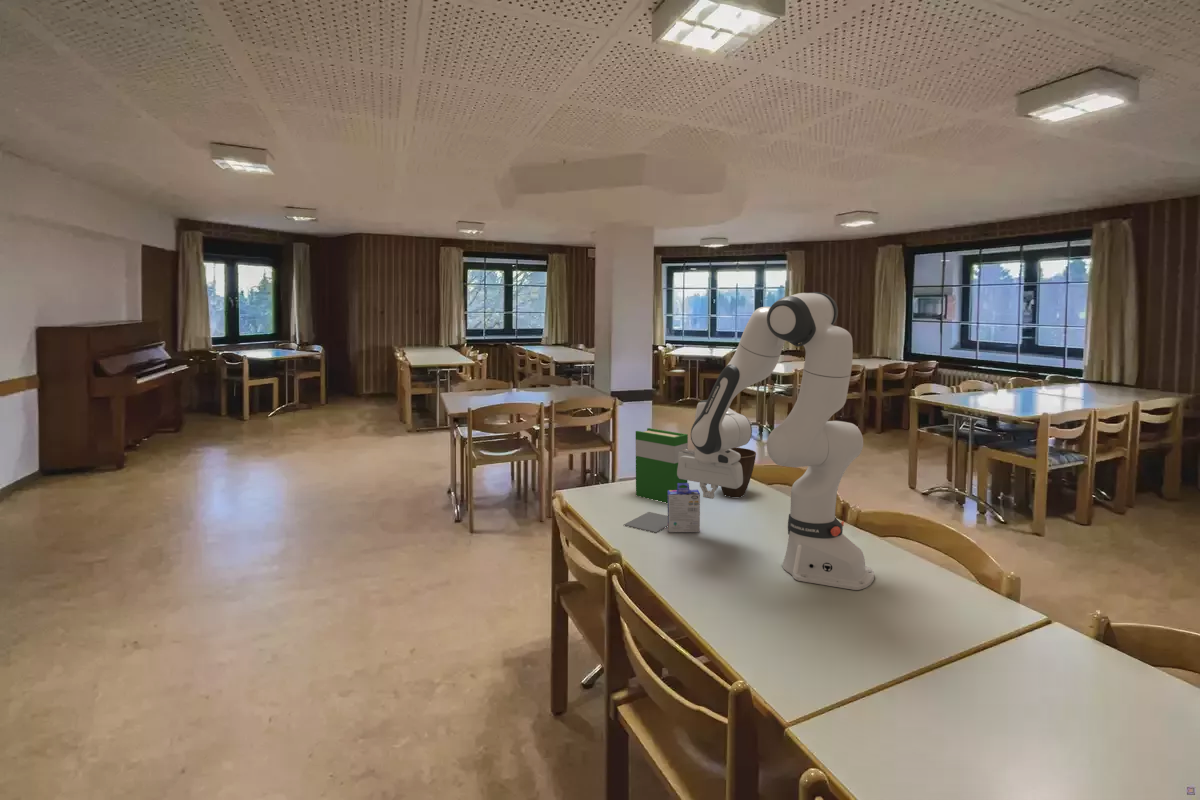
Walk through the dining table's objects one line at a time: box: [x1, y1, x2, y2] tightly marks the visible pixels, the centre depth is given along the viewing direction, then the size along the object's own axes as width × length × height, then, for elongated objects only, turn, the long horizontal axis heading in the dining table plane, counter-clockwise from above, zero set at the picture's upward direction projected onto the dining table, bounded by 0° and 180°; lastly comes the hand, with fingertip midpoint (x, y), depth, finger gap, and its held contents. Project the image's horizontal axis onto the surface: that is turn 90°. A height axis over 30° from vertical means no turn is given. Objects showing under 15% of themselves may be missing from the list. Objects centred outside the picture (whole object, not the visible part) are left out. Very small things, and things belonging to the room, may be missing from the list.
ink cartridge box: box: [667, 482, 701, 533], centre depth 197 cm, size 10×6×14 cm, turn 89°
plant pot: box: [720, 447, 757, 498], centre depth 232 cm, size 15×15×16 cm
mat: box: [623, 511, 668, 534], centre depth 205 cm, size 12×15×1 cm
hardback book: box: [635, 427, 689, 504], centre depth 229 cm, size 18×7×24 cm, turn 46°
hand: (708, 497), depth 192 cm, fingers closed
